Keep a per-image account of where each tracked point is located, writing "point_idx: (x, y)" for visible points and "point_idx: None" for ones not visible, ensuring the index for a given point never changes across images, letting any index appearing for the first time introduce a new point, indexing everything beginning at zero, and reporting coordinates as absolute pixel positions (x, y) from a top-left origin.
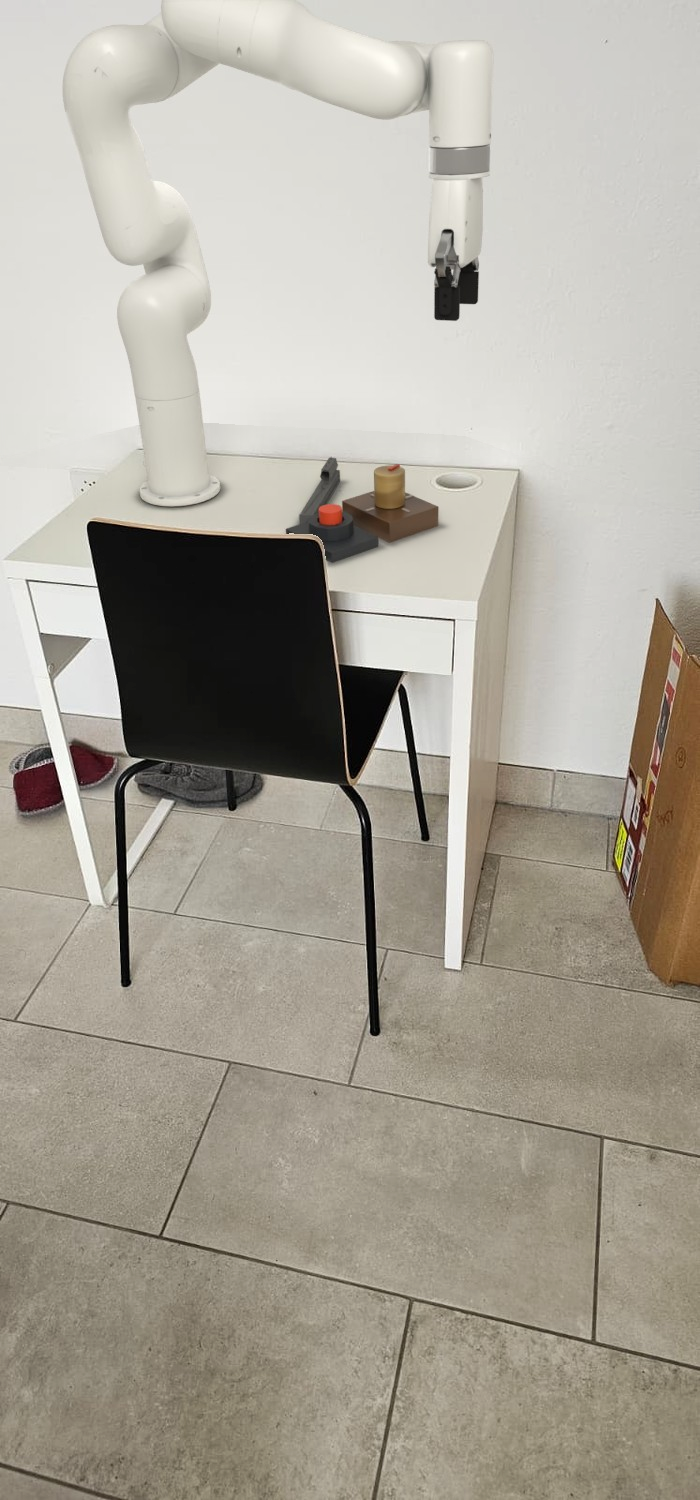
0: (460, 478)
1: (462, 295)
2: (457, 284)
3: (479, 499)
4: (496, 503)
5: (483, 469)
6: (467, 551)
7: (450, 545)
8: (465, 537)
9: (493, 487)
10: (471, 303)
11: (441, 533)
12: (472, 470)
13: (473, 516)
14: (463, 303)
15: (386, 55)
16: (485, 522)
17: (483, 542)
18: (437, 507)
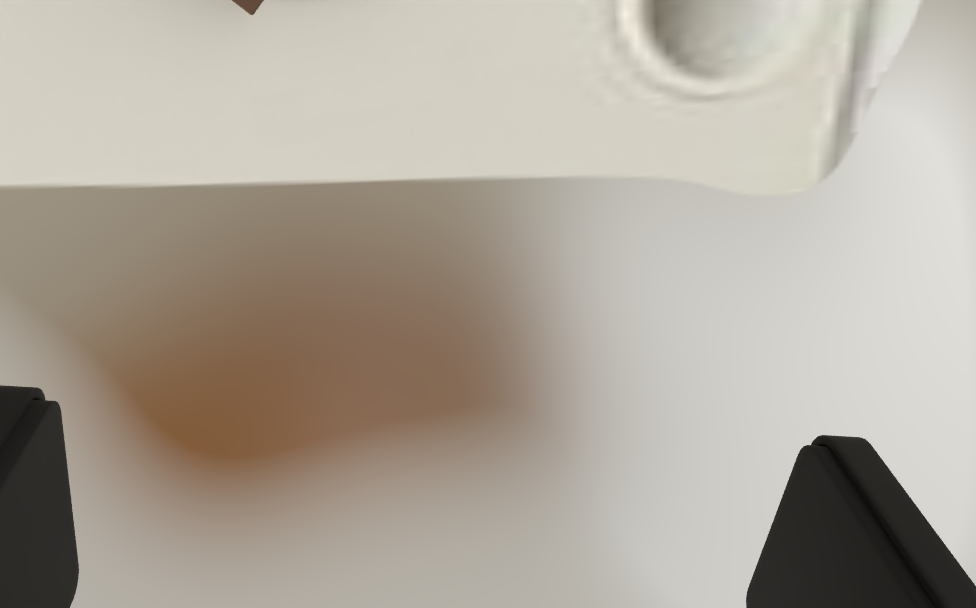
0: (752, 12)
1: (808, 556)
2: (887, 598)
3: (544, 111)
4: (513, 172)
5: (843, 86)
6: (83, 133)
7: (111, 70)
8: (195, 110)
9: (661, 144)
10: (754, 573)
11: (205, 21)
12: (836, 46)
13: (384, 111)
14: (787, 506)
15: None
16: (340, 158)
17: (173, 173)
18: (246, 11)
